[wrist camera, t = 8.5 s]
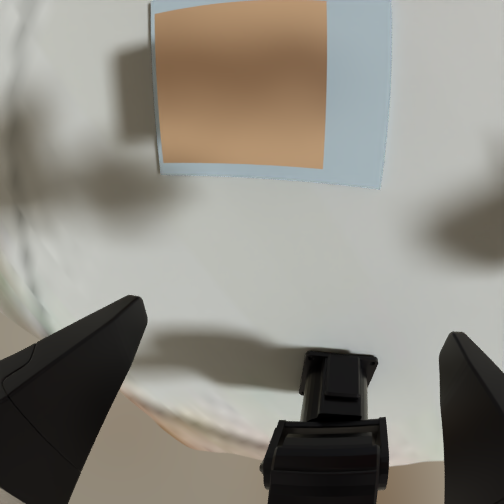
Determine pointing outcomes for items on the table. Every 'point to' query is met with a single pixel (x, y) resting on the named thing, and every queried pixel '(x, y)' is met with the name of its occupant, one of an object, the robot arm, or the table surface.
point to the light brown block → (243, 83)
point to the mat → (337, 99)
